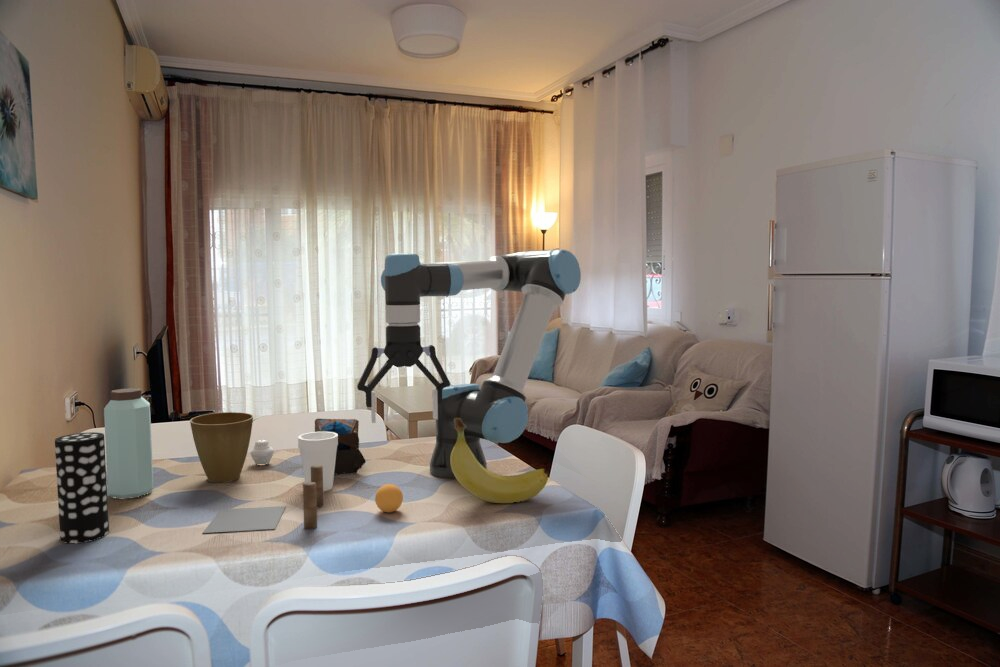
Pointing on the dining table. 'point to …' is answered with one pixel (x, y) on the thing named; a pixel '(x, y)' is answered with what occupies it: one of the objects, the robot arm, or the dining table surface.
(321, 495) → the post
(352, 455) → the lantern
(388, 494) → the ball
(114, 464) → the water bottle
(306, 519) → the post
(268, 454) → the white lidded jar
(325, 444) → the foam cup
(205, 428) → the plant pot
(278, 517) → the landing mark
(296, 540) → the dining table surface
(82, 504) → the spotted tube
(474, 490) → the banana
